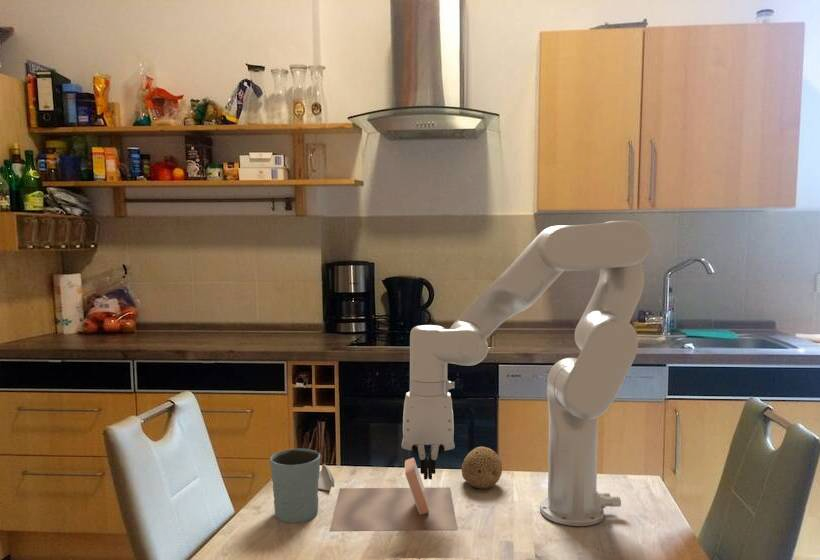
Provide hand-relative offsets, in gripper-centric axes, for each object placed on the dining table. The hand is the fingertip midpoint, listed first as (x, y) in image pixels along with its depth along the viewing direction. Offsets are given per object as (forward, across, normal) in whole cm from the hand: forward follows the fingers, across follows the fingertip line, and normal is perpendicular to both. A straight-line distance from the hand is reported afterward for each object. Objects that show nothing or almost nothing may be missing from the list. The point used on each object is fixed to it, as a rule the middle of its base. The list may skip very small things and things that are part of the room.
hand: (427, 476), depth 129 cm
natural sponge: (+8, -12, -11) cm, 18 cm away
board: (+8, +7, 0) cm, 10 cm away
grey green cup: (+8, +27, -1) cm, 28 cm away
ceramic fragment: (+9, +22, -17) cm, 29 cm away
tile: (+6, +1, 0) cm, 6 cm away
